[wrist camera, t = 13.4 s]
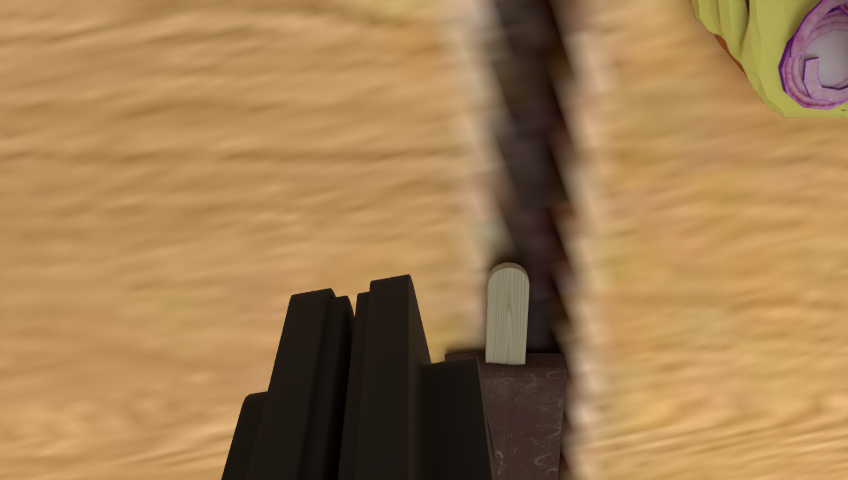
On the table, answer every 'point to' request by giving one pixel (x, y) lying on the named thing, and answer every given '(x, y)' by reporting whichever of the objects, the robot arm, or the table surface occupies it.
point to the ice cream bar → (519, 383)
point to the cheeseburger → (786, 51)
